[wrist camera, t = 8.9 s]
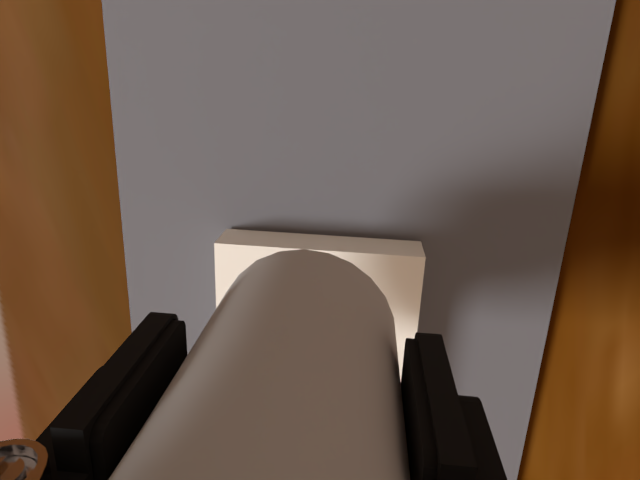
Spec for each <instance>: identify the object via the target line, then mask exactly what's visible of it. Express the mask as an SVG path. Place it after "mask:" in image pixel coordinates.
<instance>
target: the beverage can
mask: <svg viewBox="0 0 640 480" xmlns="http://www.w3.org/2000/svg"><path fill="white" fill-rule="evenodd" d="M108 480H410V470H409V460H408V450H407V441H406V431H405V421H404V411H403V401H402V392H401V382H400V372H399V362H398V352H397V343H396V333H395V323H394V317H393V314H392V312H391V309H390V307H389V304H388V301H387V299H386V297H385V295H384V294H383V293H382V291H381V290H380V289H379V288H378V286H377V285H376V284H375V282H374V281H373V280H372V279H371V277H369V276H368V275H367V274H365V273H364V272H363V271H361V270H360V269H359V268H358V267H356V266H355V265H354V264H352V263H351V262H348V261H346V260H344V259H341V258H339V257H337V256H334V255H332V254H330V253H325V252H319V251H313V250H307V249H300V250H289V251H279V252H277V253H274V254H271V255H269V256H266V257H263V258H261V259H258V260H256V261H255V262H254V263H253V264H251V265H250V266H249V267H248V268H247V269H245V270H244V271H243V272H242V273H240V274H239V275H238V277H237V278H236V280H235V281H234V282H233V284H232V285H231V286H230V288H229V289H228V291H227V292H226V293H225V295H224V297H223V298H222V300H221V302H220V303H219V305H218V306H217V308H216V310H215V311H214V313H213V315H212V316H211V318H210V319H209V321H208V323H207V324H206V326H205V328H204V329H203V331H202V332H201V334H200V336H199V337H198V339H197V340H196V342H195V344H194V345H193V347H192V349H191V350H190V352H189V353H188V355H187V357H186V358H185V360H184V362H183V363H182V365H181V366H180V368H179V370H178V371H177V373H176V375H175V376H174V378H173V379H172V381H171V383H170V384H169V386H168V387H167V389H166V391H165V392H164V394H163V395H162V397H161V398H160V400H159V402H158V403H157V405H156V406H155V408H154V410H153V411H152V413H151V414H150V416H149V417H148V419H147V421H146V422H145V424H144V425H143V427H142V429H141V430H140V432H139V433H138V435H137V436H136V438H135V439H134V441H133V442H132V444H131V445H130V447H129V449H128V450H127V452H126V453H125V455H124V456H123V458H122V459H121V461H120V462H119V464H118V465H117V467H116V468H115V470H114V472H113V473H112V475H111V476H110V478H109V479H108Z"/></svg>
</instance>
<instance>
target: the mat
mask: <svg viewBox="0 0 640 480" xmlns="http://www.w3.org/2000/svg"><path fill="white" fill-rule="evenodd" d="M615 3H616V0H102V10H103V21H104V32H105V43H106V54H107V65H108V76H109V87H110V97H111V108H112V119H113V130H114V141H115V152H116V163H117V174H118V185H119V196H120V207H121V218H122V229H123V240H124V251H125V262H126V273H127V284H128V295H129V306H130V317H131V328H132V332H133V331H134V330H135V329H136V328H137V326H138V325H139V324H140V323H141V322H142V321H143V320H144V318H145V317H146V316H147V315H148V314H149V313H150V312H159V313H172V314H176V315H177V317H178V320H181V321H184V322H185V324H186V339H187V355H188V353H189V352H190V350H191V349H192V347H193V345H194V344H195V342H196V340H197V339H198V337H199V336H200V334H201V332H202V331H203V329H204V328H205V326H206V324H207V323H208V321H209V319H210V318H211V316H212V315H213V313H214V311H215V310H216V288H215V255H214V243H215V242H216V240H217V239H218V238H219V237H220V236H221V235H222V233H223V232H224V231H225V230H226V229H238V230H254V231H269V232H285V233H300V234H316V235H331V236H347V237H362V238H378V239H393V240H409V241H421V243H422V247H423V250H424V253H425V257H426V259H425V268H424V277H423V285H422V294H421V303H420V312H419V321H418V329H417V332H420V333H432V334H441V335H442V337H443V341H444V345H445V349H446V352H447V356H448V360H449V363H450V367H451V371H452V374H453V378H454V382H455V385H456V389H457V393H458V395H463V396H475V397H478V398H480V400H481V402H482V405H483V408H484V411H485V414H486V417H487V420H488V423H489V426H490V429H491V432H492V435H493V438H494V441H495V444H496V447H497V450H498V453H499V456H500V459H501V462H502V465H503V468H504V471H505V474H506V477H507V480H517V477H518V472H519V467H520V462H521V457H522V452H523V448H524V443H525V438H526V433H527V428H528V423H529V419H530V414H531V409H532V404H533V399H534V394H535V390H536V385H537V380H538V375H539V370H540V365H541V361H542V356H543V351H544V346H545V341H546V336H547V332H548V327H549V322H550V317H551V312H552V308H553V303H554V298H555V293H556V288H557V283H558V279H559V274H560V269H561V264H562V259H563V254H564V250H565V245H566V240H567V235H568V230H569V225H570V221H571V216H572V211H573V206H574V201H575V196H576V192H577V187H578V182H579V177H580V172H581V167H582V163H583V158H584V153H585V148H586V143H587V138H588V134H589V129H590V124H591V119H592V114H593V110H594V105H595V100H596V95H597V90H598V85H599V81H600V76H601V71H602V66H603V61H604V56H605V52H606V47H607V42H608V37H609V32H610V27H611V23H612V18H613V13H614V8H615Z"/></svg>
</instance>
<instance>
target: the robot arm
mask: <svg viewBox="0 0 640 480" xmlns="http://www.w3.org/2000/svg"><path fill="white" fill-rule="evenodd" d="M186 357H187V339H186V324H185V322H184V321H181V320H178V317H177V315H176V314H172V313H159V312H150V313H149V314H148V315H147V316H146V317H145V318H144V320H143V321H142V322H141V323H140V324H139V325H138V326H137V328H136V329H135V330H134V331H133V332H132V333H131V335H130V336H129V337H128V338H127V339H126V340H125V341H124V343H123V344H122V345H121V346H120V347H119V348H118V350H117V351H116V352H115V353H114V354H113V355H112V356H111V358H110V359H109V360H108V361H107V362H106V363H105V364H104V366H102V367H100V368H99V369H98V370H97V371H96V372H95V373H94V374H93V376H92V377H91V378H90V379H89V380H88V381H87V382H86V384H85V385H84V386H83V387H82V388H81V389H80V390H79V392H78V393H77V394H76V395H75V396H74V397H73V398H72V400H71V401H70V402H69V403H68V404H67V405H66V406H65V408H64V409H63V410H62V411H61V412H60V413H59V414H58V416H57V417H56V418H55V419H54V420H53V421H52V422H51V423H50V425H49V426H48V427H47V428H46V429H45V430H44V431H43V433H42V434H41V435H40V436H39V437H38V438H37V439H36V441H34V440H30V439H11V440H6V441H0V480H108V479H109V478H110V476H111V475H112V473H113V472H114V470H115V468H116V467H117V465H118V464H119V462H120V461H121V459H122V458H123V456H124V455H125V453H126V452H127V450H128V449H129V447H130V445H131V444H132V442H133V441H134V439H135V438H136V436H137V435H138V433H139V432H140V430H141V429H142V427H143V425H144V424H145V422H146V421H147V419H148V417H149V416H150V414H151V413H152V411H153V410H154V408H155V406H156V405H157V403H158V402H159V400H160V398H161V397H162V395H163V394H164V392H165V391H166V389H167V387H168V386H169V384H170V383H171V381H172V379H173V378H174V376H175V375H176V373H177V371H178V370H179V368H180V366H181V365H182V363H183V362H184V360H185V358H186ZM401 392H402V401H403V411H404V421H405V431H406V441H407V450H408V460H409V470H410V480H507V477H506V474H505V471H504V468H503V465H502V462H501V459H500V456H499V453H498V450H497V447H496V444H495V441H494V438H493V435H492V432H491V429H490V426H489V423H488V420H487V417H486V414H485V411H484V408H483V405H482V402H481V400H480V398H478V397H475V396H463V395H458V393H457V389H456V385H455V382H454V378H453V374H452V371H451V367H450V363H449V360H448V356H447V352H446V349H445V345H444V341H443V337H442V335H441V334H432V333H420V332H416V334H415V338H414V339H413V338H406V341H405V348H404V358H403V367H402V377H401Z"/></svg>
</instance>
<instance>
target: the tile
mask: <svg viewBox="0 0 640 480" xmlns="http://www.w3.org/2000/svg"><path fill="white" fill-rule="evenodd" d="M300 249H307V250H313V251H319V252H325V253H330V254H332V255H334V256H337V257H339V258H341V259H344V260H346V261H348V262H351V263H352V264H354V265H355V266H356V267H358V268H359V269H360V270H361V271H363V272H364V273H365V274H367V275H368V276H369V277H371V279H372V280H373V281H374V282H375V284H376V285H377V286H378V288H379V289H380V290H381V291H382V293H383V294H384V295H385V297H386V299H387V301H388V304H389V307H390V309H391V312H392V314H393V317H394V323H395V333H396V343H397V352H398V362H399V372H400V382H401V377H402V367H403V358H404V348H405V341H406V338H413V339H414V338H415V334H416V332H417V329H418V321H419V312H420V303H421V294H422V285H423V277H424V268H425V259H426V257H425V253H424V250H423V247H422V243H421V241H409V240H393V239H378V238H362V237H347V236H331V235H316V234H300V233H285V232H269V231H254V230H238V229H226V230H225V231H224V232H223V233H222V235H221V236H220V237H219V238H218V239H217V240H216V242H215V243H214V255H215V288H216V308H217V306H218V305H219V303H220V302H221V300H222V298H223V297H224V295H225V293H226V292H227V291H228V289H229V288H230V286H231V285H232V284H233V282H234V281H235V280H236V278H237V277H238V275H239V274H240V273H242V272H243V271H244V270H245V269H247V268H248V267H249V266H250V265H251V264H253V263H254V262H255V261H256V260H258V259H261V258H263V257H266V256H269V255H271V254H274V253H277V252H279V251H289V250H300Z"/></svg>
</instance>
